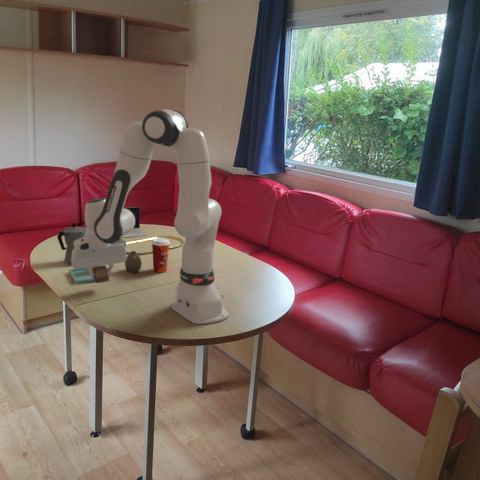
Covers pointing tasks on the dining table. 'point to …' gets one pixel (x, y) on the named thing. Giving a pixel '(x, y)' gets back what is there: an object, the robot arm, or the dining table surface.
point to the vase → (133, 262)
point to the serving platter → (152, 239)
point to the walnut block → (100, 274)
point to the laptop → (135, 230)
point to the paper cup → (160, 254)
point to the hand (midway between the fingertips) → (100, 275)
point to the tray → (81, 275)
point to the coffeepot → (70, 239)
